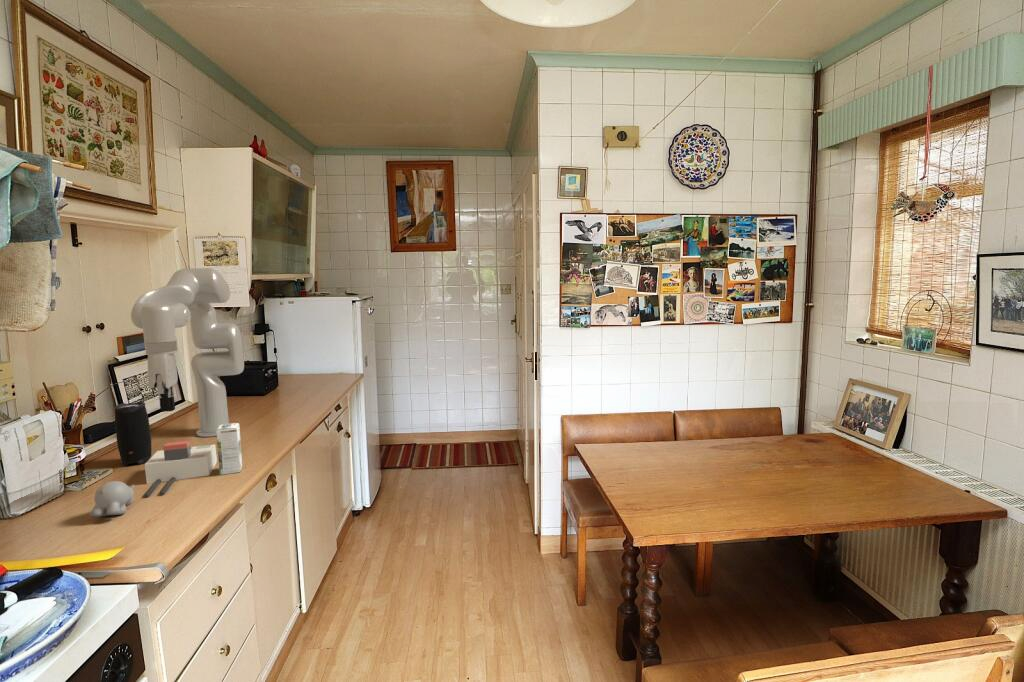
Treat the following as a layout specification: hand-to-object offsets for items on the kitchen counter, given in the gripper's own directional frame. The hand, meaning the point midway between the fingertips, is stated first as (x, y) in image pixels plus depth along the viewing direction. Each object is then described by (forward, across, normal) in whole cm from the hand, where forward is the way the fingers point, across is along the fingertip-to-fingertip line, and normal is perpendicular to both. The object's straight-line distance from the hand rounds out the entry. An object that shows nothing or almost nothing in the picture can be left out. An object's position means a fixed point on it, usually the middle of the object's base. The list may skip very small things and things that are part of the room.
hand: (168, 410), depth 144 cm
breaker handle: (+16, -5, 0) cm, 16 cm away
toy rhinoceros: (+22, +15, -9) cm, 29 cm away
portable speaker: (+22, -25, -17) cm, 37 cm away
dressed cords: (+22, +3, -3) cm, 22 cm away
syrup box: (+22, -4, +14) cm, 27 cm away
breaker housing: (+22, -9, 0) cm, 24 cm away
